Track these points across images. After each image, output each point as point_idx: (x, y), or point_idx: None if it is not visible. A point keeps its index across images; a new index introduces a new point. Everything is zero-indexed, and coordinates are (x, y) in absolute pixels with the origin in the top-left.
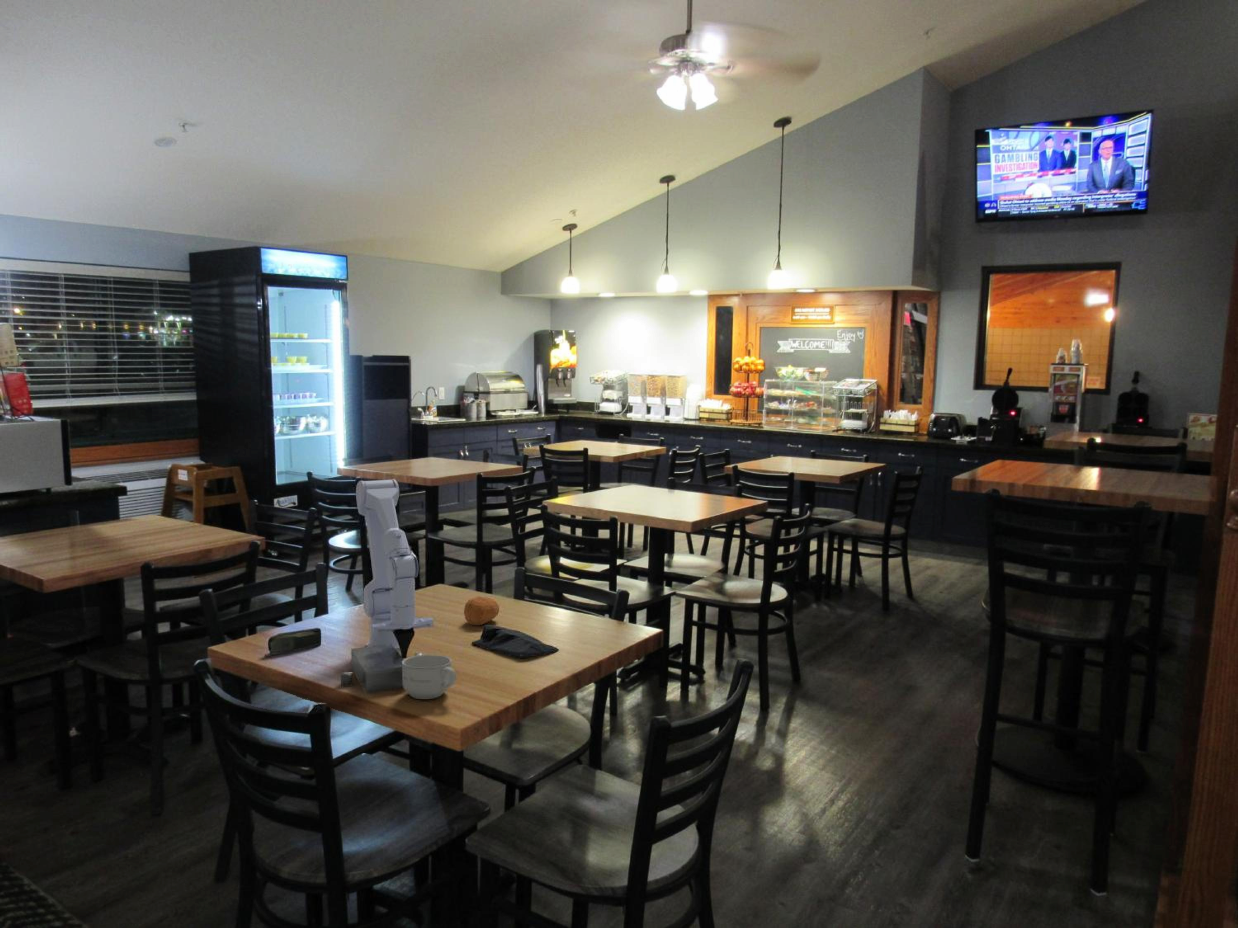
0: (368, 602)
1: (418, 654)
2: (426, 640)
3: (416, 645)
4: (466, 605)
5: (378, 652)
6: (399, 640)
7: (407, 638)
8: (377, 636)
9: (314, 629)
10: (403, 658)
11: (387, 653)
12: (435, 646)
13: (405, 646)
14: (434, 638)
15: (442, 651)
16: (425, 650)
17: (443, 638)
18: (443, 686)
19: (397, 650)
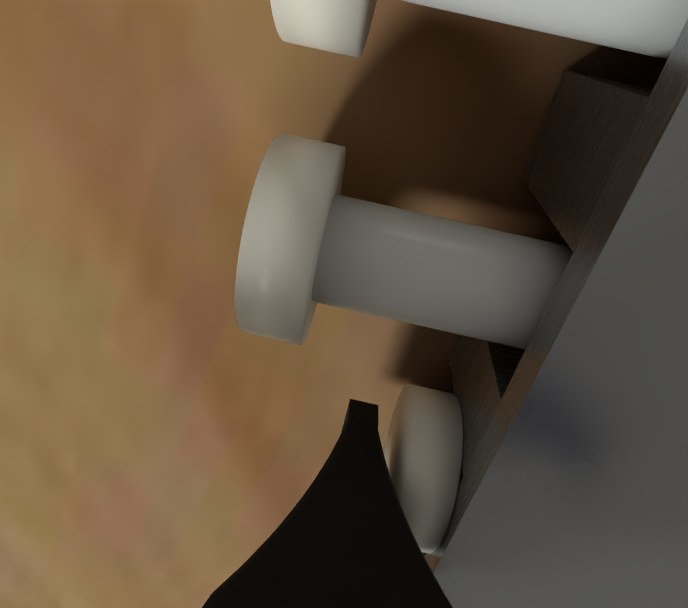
0: None
1: (294, 249)
2: (93, 599)
3: (159, 582)
4: None
5: (680, 540)
6: (442, 601)
7: (324, 587)
8: None
9: None
10: (474, 315)
11: (633, 467)
12: (63, 524)
13: (354, 498)
14: (49, 596)
15: (35, 447)
16: (132, 511)
17: (3, 576)
18: None
19: (428, 500)
